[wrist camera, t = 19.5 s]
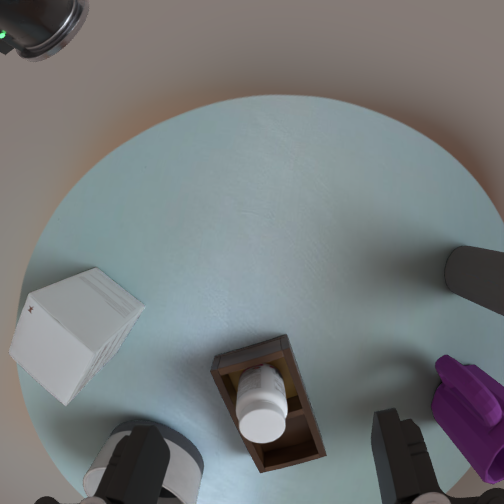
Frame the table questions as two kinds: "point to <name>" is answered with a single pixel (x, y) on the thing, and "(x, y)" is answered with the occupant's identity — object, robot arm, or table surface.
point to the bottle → (477, 276)
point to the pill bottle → (261, 403)
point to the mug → (472, 415)
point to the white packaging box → (73, 331)
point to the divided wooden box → (299, 408)
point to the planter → (178, 472)
